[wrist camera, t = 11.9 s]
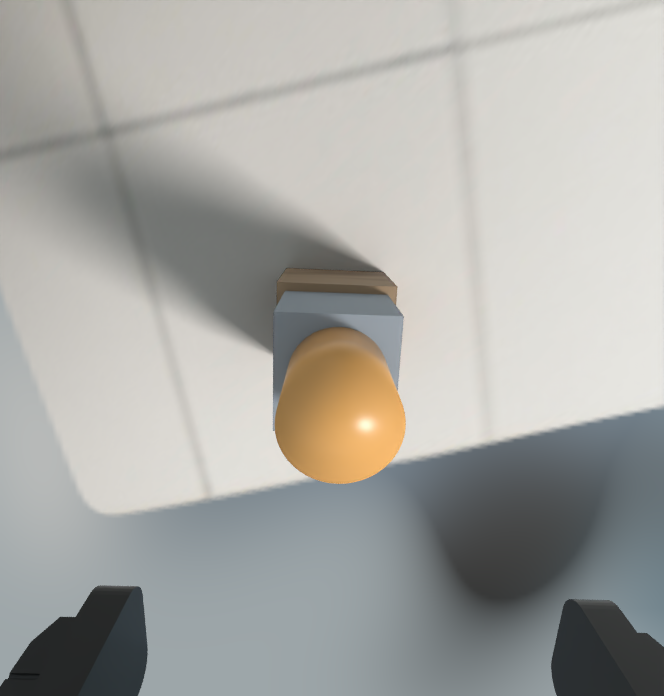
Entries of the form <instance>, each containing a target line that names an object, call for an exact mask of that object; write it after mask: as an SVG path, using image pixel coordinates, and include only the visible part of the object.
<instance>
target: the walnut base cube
mask: <svg viewBox="0 0 664 696" xmlns="http://www.w3.org/2000/svg"><path fill="white" fill-rule="evenodd" d="M285 291H303V292H330V293H356V294H383V295H388V296H389V297H390V298H391V300H392V301H393V302H394V304H395V305H396V297H397V286H396V285H395V284H394V283H393V282H392V281H391V279H390V278H389V277H388V276H387V275H386V274H385V273H384V272H369V271H345V270H320V269H296V268H286V270H285V271H284V273H283V274H282V275H281V277H280V278H279V280H278V281H277V305H278V303H279V301H280V299H281V297H282V295H283V294H284V292H285Z"/></svg>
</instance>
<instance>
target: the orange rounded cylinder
mask: <svg viewBox="0 0 664 696" xmlns="http://www.w3.org/2000/svg"><path fill="white" fill-rule="evenodd" d="M405 422H406V420H405V412H404V409H403V405H402V402H401V400H400V397H399V394H398V392H397V389H396V386H395V384H394V381H393V378H392V376H391V373H390V370H389V368H388V365H387V363H386V360H385V357H384V355H383V353H382V351H381V350H380V348H379V347H378V346H377V344H376V343H375V342H374V341H373V340H372V339H371V338H369V337H368V336H366V335H365V334H363V333H361V332H359V331H357V330H354V329H350V328H346V327H330V328H325V329H322V330H319V331H316V332H314V333H312V334H311V335H309V336H307V337H306V338H305V339H304V340H303V341H302V342H301V343H300V344H299V345H298V346H297V347H296V349H295V350H294V352H293V354H292V356H291V358H290V361H289V364H288V368H287V372H286V376H285V380H284V383H283V387H282V391H281V395H280V398H279V402H278V406H277V410H276V415H275V434H276V438H277V442H278V444H279V447H280V449H281V451H282V453H283V454H284V456H285V457H286V458H287V460H288V461H289V462H290V463H291V464H292V465H293V466H294V467H295V468H296V469H298V470H299V471H300V472H302V473H303V474H305V475H307V476H309V477H311V478H313V479H316V480H319V481H322V482H327V483H336V484H343V483H352V482H356V481H360V480H364V479H366V478H368V477H371V476H372V475H374V474H376V473H378V472H379V471H381V470H382V469H383V468H384V467H386V466H387V465H388V464H389V463H390V462H391V460H392V459H393V458H394V457H395V455H396V454H397V452H398V450H399V448H400V446H401V444H402V441H403V438H404V434H405Z"/></svg>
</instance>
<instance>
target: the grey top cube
mask: <svg viewBox="0 0 664 696" xmlns="http://www.w3.org/2000/svg"><path fill="white" fill-rule="evenodd" d="M403 318H404V316H403V315H402V313H401V312H400V311H399V309H398V308H397V307H396V305H395V304H394V302H393V301H392V300H391V298H390V297H389V296H388V295H383V294H356V293H330V292H303V291H285V292H284V294H283V295H282V297H281V299H280V301H279V303H278V305H277V306H276V308H275V310H274V333H273V431H275V415H276V410H277V406H278V402H279V398H280V395H281V391H282V387H283V383H284V380H285V376H286V372H287V368H288V364H289V361H290V358H291V356H292V354H293V352H294V350H295V349H296V347H297V346H298V345H299V344H300V343H301V342H302V341H303V340H304V339H305V338H306V337H307V336H309V335H311V334H312V333H314V332H316V331H319V330H322V329H325V328H330V327H346V328H350V329H354V330H357V331H359V332H361V333H363V334H365V335H366V336H368V337H369V338H371V339H372V340H373V341H374V342H375V343H376V344H377V346H378V347H379V348H380V350H381V351H382V353H383V355H384V357H385V360H386V363H387V365H388V368H389V370H390V373H391V376H392V378H393V381H394V384H395V386H396V389H397V391H398V379H399V367H400V355H401V343H402V331H403Z"/></svg>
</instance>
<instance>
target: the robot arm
mask: <svg viewBox="0 0 664 696" xmlns="http://www.w3.org/2000/svg"><path fill="white" fill-rule="evenodd" d="M146 664H147V638H146V626H145V615H144V605H143V594H142V590H141V588H140V587H137V586H97V587H95V588H94V589H93V590H92V592H91V593H90V595H89V596H88V598H87V600H86V601H85V603H84V604H83V606H82V608H81V609H80V611H79V613H78V614H77V616H76V617H59V618H58V619H57V620H56V621H55V622H54V623H53V624H51V625H50V626H49V627H48V628H47V629H46V630H44V631H43V632H42V633H41V634H40V635H39V636H37V637H36V638H35V639H34V640H33V641H32V642H31V643H30V644H29V646H28V647H27V649H26V650H25V651H24V653H23V654H22V656H21V657H20V659H19V660H18V662H17V663H16V664H15V666H14V668H13V669H12V670H11V672H10V675H9V678H8V679H5V680H4V682H3V683H2V685H1V686H0V696H138V694H139V691H140V688H141V685H142V682H143V679H144V674H145V670H146ZM551 669H552V679H553V683H554V688H555V692H556V695H557V696H664V647H663V646H662V645H661V644H659V643H658V642H657V641H656V640H655V639H653V638H652V637H651V636H650V635H648V634H647V633H637V632H636V630H635V629H634V628H633V626H632V625H631V624H630V622H629V621H628V620H627V618H626V617H625V615H624V614H623V613H622V611H621V610H620V609H619V607H618V606H617V605H616V604H615V603H613V602H612V601H609V600H577V599H569V600H567V601H566V602H565V604H564V606H563V611H562V615H561V620H560V624H559V629H558V633H557V638H556V643H555V648H554V652H553V657H552V664H551Z"/></svg>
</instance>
